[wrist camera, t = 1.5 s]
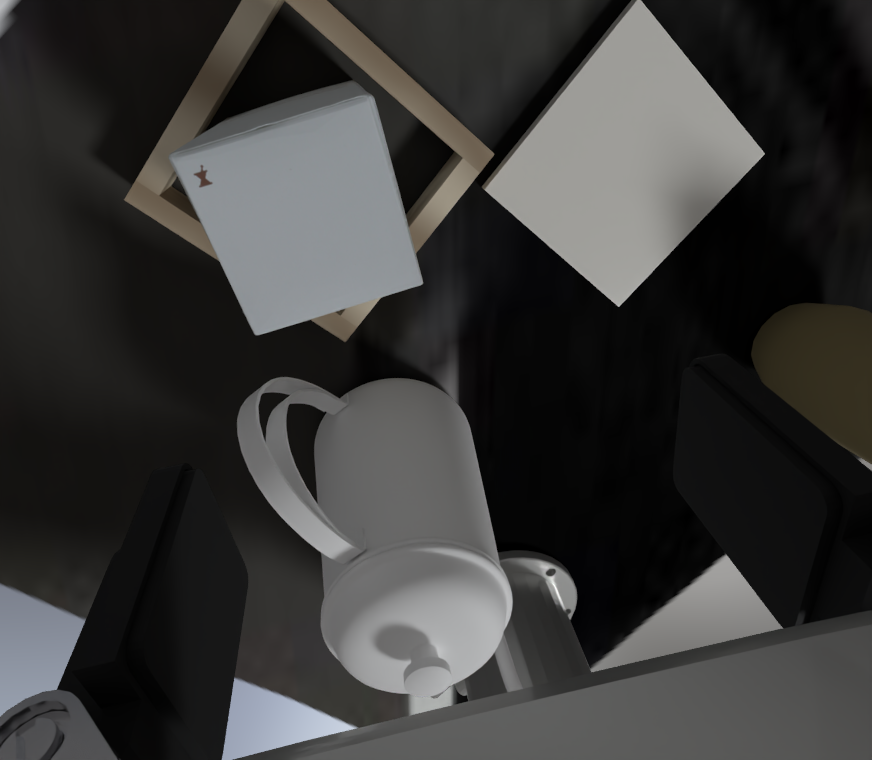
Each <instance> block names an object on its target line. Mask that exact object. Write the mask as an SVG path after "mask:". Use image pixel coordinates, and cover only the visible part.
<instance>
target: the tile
mask: <svg viewBox="0 0 872 760" xmlns="http://www.w3.org/2000/svg"><path fill="white" fill-rule="evenodd" d="M764 154H765V153H764V152H763V151H762V150H761V148H760V147H759V146H758V145H757V143H756V142H755V141H754V140H753V138H752V137H751V136H750V135H749V134H748V132H747V131H746V130H745V129H744V127H743V126H742V125H741V124H740V122H739V121H738V120H737V119H736V117H735V116H734V115H733V114H732V113H731V111H730V110H729V109H728V108H727V106H726V105H725V104H724V103H723V101H722V100H721V99H720V98H719V96H718V95H717V94H716V93H715V91H714V90H713V89H712V88H711V87H710V85H709V84H708V83H707V82H706V80H705V79H704V78H703V77H702V75H701V74H700V73H699V72H698V70H697V69H696V68H695V67H694V66H693V64H692V63H691V62H690V61H689V59H688V58H687V57H686V56H685V54H684V53H683V52H682V51H681V49H680V48H679V47H678V46H677V45H676V43H675V42H674V41H673V40H672V38H671V37H670V36H669V35H668V33H667V32H666V31H665V30H664V28H663V27H662V26H661V25H660V24H659V22H658V21H657V20H656V19H655V17H654V16H653V15H652V14H651V12H650V11H649V10H648V9H647V7H646V6H645V5H644V4H643V3H642V1H641V0H631V1H630V3H629V4H628V5H627V6H626V8H625V9H624V10H623V11H622V13H621V14H620V15H619V16H618V18H617V19H616V20H615V21H614V23H613V24H612V25H611V26H610V28H609V29H608V30H607V31H606V33H605V34H604V35H603V36H602V38H601V39H600V40H599V41H598V42H597V44H596V45H595V46H594V47H593V49H592V50H591V51H590V52H589V54H588V55H587V56H586V57H585V59H584V60H583V61H582V62H581V64H580V65H579V66H578V67H577V69H576V70H575V71H574V72H573V74H572V75H571V76H570V77H569V79H568V80H567V81H566V82H565V84H564V85H563V86H562V87H561V89H560V90H559V91H558V92H557V94H556V95H555V96H554V97H553V99H552V100H551V101H550V102H549V104H548V105H547V106H546V107H545V109H544V110H543V111H542V112H541V114H540V115H539V116H538V117H537V119H536V120H535V121H534V122H533V124H532V125H531V126H530V127H529V129H528V130H527V131H526V132H525V133H524V135H523V136H522V137H521V138H520V140H519V141H518V142H517V143H516V145H515V146H514V147H513V148H512V150H511V151H510V152H509V153H508V155H507V156H506V157H505V158H504V160H503V161H502V162H501V163H500V165H499V166H498V167H497V168H496V170H495V171H494V172H493V173H492V175H491V176H490V177H489V178H488V180H487V181H486V182H485V183H484V185H483V186H482V188H483V189H484V190H485V191H486V192H488V193H489V194H490V195H491V196H492V197H493V198H494V199H496V200H497V201H498V202H499V203H500V204H501V205H502V206H504V207H505V208H506V209H507V210H508V211H509V212H510V213H512V214H513V215H514V216H515V217H516V218H517V219H519V220H520V221H521V222H522V223H523V224H524V225H525V226H527V227H528V228H529V229H530V230H531V231H532V232H533V233H535V234H536V235H537V236H538V237H539V238H540V239H541V240H543V241H544V242H545V243H546V244H547V245H548V246H549V247H551V248H552V249H553V250H554V251H555V252H556V253H557V254H559V255H560V256H561V257H562V258H563V259H564V260H565V261H567V262H568V263H569V264H570V265H571V266H572V267H574V268H575V269H576V270H577V271H578V272H579V273H580V274H582V275H583V276H584V277H585V278H586V279H587V280H588V281H590V282H591V283H592V284H593V285H594V286H595V287H596V288H598V289H599V290H600V291H601V292H602V293H603V294H604V295H606V296H607V297H608V298H609V299H610V300H611V301H612V302H614V303H615V304H616V305H617V306H618V307H619V306H620V305H621V304H622V303H623V302H624V301H625V300H626V299H627V298H628V297H629V296H630V295H631V294H632V292H633V291H634V290H635V289H636V288H637V287H638V286H639V285H640V284H641V283H642V282H643V281H644V280H645V279H646V278H647V277H648V276H649V275H650V274H651V273H652V272H653V270H654V269H655V268H656V267H657V266H658V265H659V264H660V263H661V262H662V261H663V260H664V259H665V258H666V257H667V256H668V255H669V254H670V253H671V252H672V251H673V250H674V249H675V247H676V246H677V245H678V244H679V243H680V242H681V241H682V240H683V239H684V238H685V237H686V236H687V235H688V234H689V233H690V232H691V231H692V230H693V229H694V228H695V227H696V225H697V224H698V223H699V222H700V221H701V220H702V219H703V218H704V217H705V216H706V215H707V214H708V213H709V212H710V211H711V210H712V209H713V208H714V207H715V206H716V205H717V203H718V202H719V201H720V200H721V199H722V198H723V197H724V196H725V195H726V194H727V193H728V192H729V191H730V190H731V189H732V188H733V187H734V186H735V185H736V184H737V183H738V181H739V180H740V179H741V178H742V177H743V176H744V175H745V174H746V173H747V172H748V171H749V170H750V169H751V168H752V167H753V166H754V165H755V164H756V163H757V162H758V161H759V160H760V158H761V157H762V156H763V155H764Z"/></svg>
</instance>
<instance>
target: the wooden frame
mask: <svg viewBox="0 0 872 760" xmlns="http://www.w3.org/2000/svg"><path fill="white" fill-rule="evenodd" d="M284 1H285V2H286V3H288V4H289V5H290V6H291V7H292V8H293V9H294V10H295V11H297V12H298V13H299V14H300V15H301V16H302V17H303V18H304V19H306V20H307V21H308V22H309V23H310V24H311V25H312V26H314V27H315V28H316V29H317V30H318V31H319V32H320V33H321V34H323V35H324V36H325V37H326V38H327V39H328V40H329V41H330V42H332V43H333V44H334V45H335V46H336V47H337V48H338V49H340V50H341V51H342V52H343V53H344V54H345V55H346V56H347V57H349V58H350V59H351V60H352V61H353V62H354V63H355V64H357V65H358V66H359V67H360V68H361V69H362V70H363V71H364V72H366V73H367V74H368V75H369V76H370V77H371V78H372V79H373V80H375V81H376V82H377V83H378V84H379V85H380V86H381V87H383V88H384V89H385V90H386V91H387V92H388V93H389V94H390V95H392V96H393V97H394V98H395V99H396V100H397V101H398V102H399V103H401V104H402V105H403V106H404V107H405V108H406V109H407V110H409V111H410V112H411V113H412V114H413V115H414V116H415V117H416V118H418V119H419V120H420V121H421V122H422V123H423V124H424V125H425V126H427V127H428V128H429V129H430V130H431V131H432V132H433V133H435V134H436V135H437V136H438V137H439V138H440V139H441V140H442V141H444V142H445V143H446V144H447V145H448V146H449V147H450V148H451V149H453V150H454V151H455V152H454V153H453V154H452V156H451V157H450V158H449V160H448V161H447V162H446V163H445V165H444V166H443V167H442V169H441V170H440V171H439V173H438V174H437V175H436V176H435V178H434V179H433V180H432V182H431V183H430V184H429V186H428V187H427V188H426V189H425V191H424V192H423V193H422V195H421V196H420V197H419V199H418V200H417V201H416V202H415V204H414V205H413V206H412V208H411V209H410V210H409V212H408V213H407V214H406V219H407V222H408V226H409V230H410V234H411V238H412V242H413V245H414V249H415V253H417V251H418V250H419V249H420V248H421V246H422V245H423V244H424V243H425V241H426V240H427V239H428V238H429V236H430V235H431V234H432V232H433V231H434V230H435V229H436V227H437V226H438V225H439V224H440V222H441V221H442V220H443V219H444V217H445V216H446V215H447V214H448V212H449V211H450V210H451V209H452V207H453V206H454V205H455V204H456V202H457V201H458V200H459V198H460V197H461V196H462V195H463V193H464V192H465V191H466V190H467V188H468V187H469V186H470V185H471V183H472V182H473V181H474V180H475V178H476V177H477V176H478V175H479V173H480V172H481V171H482V170H483V168H484V167H485V166H486V164H487V163H488V162H489V161H490V159H491V158H492V157H493V156H494V153H493V152H492V151H491V150H490V149H488V148H487V147H486V146H485V145H484V144H483V143H482V142H481V141H480V140H479V139H478V138H476V137H475V136H474V135H473V134H472V133H471V132H470V131H469V130H468V129H467V128H466V127H464V126H463V125H462V124H461V123H460V122H459V121H458V120H457V119H456V118H455V117H454V116H452V115H451V114H450V113H449V112H448V111H447V110H446V109H445V108H444V107H443V106H441V105H440V104H439V103H438V102H437V101H436V100H435V99H434V98H433V97H432V96H431V95H429V94H428V93H427V92H426V91H425V90H424V89H423V88H422V87H421V86H420V85H419V84H417V83H416V82H415V81H414V80H413V79H412V78H411V77H410V76H409V75H408V74H407V73H405V72H404V71H403V70H402V69H401V68H400V67H399V66H398V65H397V64H396V63H395V62H393V61H392V60H391V59H390V58H389V57H388V56H387V55H386V54H385V53H384V52H383V51H381V50H380V49H379V48H378V47H377V46H376V45H375V44H374V43H373V42H372V41H370V40H369V39H368V38H367V37H366V36H365V35H364V34H363V33H362V32H361V31H360V30H358V29H357V28H356V27H355V26H354V25H353V24H352V23H351V22H350V21H349V20H348V19H346V18H345V17H344V16H343V15H342V14H341V13H340V12H339V11H338V10H337V9H336V8H334V7H333V6H332V5H331V4H330V3H329V2H328V1H327V0H242V1H241V3H240V4H239V6H238V8H237V9H236V11H235V13H234V15H233V16H232V18H231V20H230V21H229V23H228V25H227V26H226V28H225V30H224V31H223V33H222V35H221V37H220V38H219V40H218V42H217V43H216V45H215V47H214V48H213V50H212V52H211V54H210V55H209V57H208V59H207V60H206V62H205V64H204V65H203V67H202V69H201V70H200V72H199V74H198V76H197V77H196V79H195V81H194V82H193V84H192V86H191V87H190V89H189V91H188V93H187V94H186V96H185V98H184V99H183V101H182V103H181V104H180V106H179V108H178V109H177V111H176V113H175V115H174V116H173V118H172V120H171V121H170V123H169V125H168V126H167V128H166V130H165V132H164V133H163V135H162V137H161V138H160V140H159V142H158V143H157V145H156V147H155V148H154V150H153V152H152V154H151V155H150V157H149V159H148V160H147V162H146V164H145V165H144V167H143V169H142V171H141V172H140V174H139V176H138V177H137V179H136V181H135V182H134V184H133V186H132V188H131V189H130V191H129V193H128V194H127V196H126V198H125V199H124V200H125V201H127V202H128V203H130V204H131V205H133V206H134V207H136V208H137V209H139V210H141V211H142V212H144V213H145V214H147V215H148V216H150V217H151V218H153V219H155V220H156V221H158V222H159V223H161V224H162V225H164V226H165V227H167V228H169V229H170V230H172V231H173V232H175V233H176V234H178V235H179V236H181V237H183V238H184V239H186V240H187V241H189V242H190V243H192V244H193V245H195V246H197V247H198V248H200V249H201V250H203V251H204V252H206V253H207V254H209V255H211V256H212V257H214V258H215V259H217V260H218V261H219V259H218V257H217V255H216V253H215V251H214V249H213V247H212V245H211V243H210V241H209V239H208V237H207V235H206V233H205V231H204V229H203V227H202V225H201V223H200V221H199V219H198V217H197V215H196V213H195V211H194V209H193V206H192V204H191V202H190V200H189V198H188V197H187V196H185V195H184V194H182V193H181V192H179V191H178V190H176V189H175V188H173V187H172V186H171V185H172V184H173V182H174V181H175V179H176V177H177V174H176V172H175V170H174V168H173V166H172V164H171V162H170V160H169V158H168V157H169V154H170V153H172V152H174V151H175V150H177V149H178V148H180V147H182V146H183V145H185V144H186V143H188V142H190V141H191V140H193V139H194V138H196V137H198V136H199V135H201V134H203V133H204V132H205V130H206V128H207V127H208V125H209V124H210V122H211V120H212V119H213V117H214V115H215V114H216V112H217V110H218V109H219V107H220V106H221V104H222V102H223V101H224V99H225V97H226V96H227V94H228V93H229V91H230V89H231V88H232V86H233V84H234V83H235V81H236V79H237V78H238V76H239V75H240V73H241V71H242V70H243V68H244V66H245V65H246V63H247V62H248V60H249V58H250V57H251V55H252V53H253V52H254V50H255V49H256V47H257V45H258V44H259V42H260V40H261V39H262V37H263V35H264V34H265V32H266V31H267V29H268V27H269V26H270V24H271V22H272V21H273V19H274V18H275V16H276V14H277V13H278V11H279V9H280V8H281V6H282V4H283V3H284ZM379 299H380V298H378V299H375V300H371V301H368V302H365V303H362V304H359V305H356V306H352V307H349V308H346V309H343V310H339V311H336V312H333V313H330V314H326V315H323V316H320V317H317V318H314V319H310V320H312V321H313V322H315V323H316V324H318V325H319V326H321V327H322V328H324V329H326V330H327V331H329V332H330V333H332V334H333V335H335V336H336V337H338V338H340V339H341V340H343V341H344V342H346V341H347V340H348V338H349V337H350V336H351V334H352V333H353V332H354V331H355V329H356V328H357V327H358V326H359V324H360V323H361V322H362V321H363V319H364V318H365V317H366V316H367V314H368V313H369V312H370V311H371V309H372V308H373V307H374V306H375V304H376V303H377V302H378V300H379Z"/></svg>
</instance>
